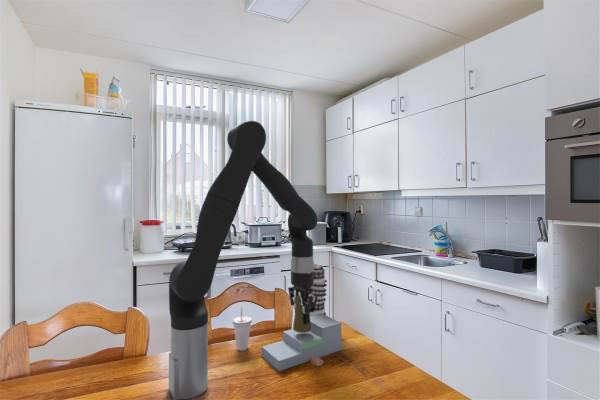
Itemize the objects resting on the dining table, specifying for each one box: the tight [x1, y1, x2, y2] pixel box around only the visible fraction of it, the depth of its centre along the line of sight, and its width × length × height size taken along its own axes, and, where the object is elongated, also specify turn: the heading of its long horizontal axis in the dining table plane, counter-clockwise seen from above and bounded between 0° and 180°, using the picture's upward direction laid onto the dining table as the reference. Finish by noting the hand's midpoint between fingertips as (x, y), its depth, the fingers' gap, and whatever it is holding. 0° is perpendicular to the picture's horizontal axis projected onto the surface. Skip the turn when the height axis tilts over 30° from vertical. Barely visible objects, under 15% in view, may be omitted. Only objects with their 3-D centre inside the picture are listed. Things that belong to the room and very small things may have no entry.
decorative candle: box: [310, 263, 328, 316], centre depth 121 cm, size 9×9×25 cm
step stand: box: [261, 313, 342, 372], centre depth 103 cm, size 24×11×9 cm, turn 124°
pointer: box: [310, 357, 324, 367], centre depth 97 cm, size 2×4×1 cm, turn 34°
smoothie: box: [232, 306, 253, 352], centre depth 106 cm, size 6×6×14 cm
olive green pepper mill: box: [292, 295, 311, 333], centre depth 103 cm, size 6×6×11 cm
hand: (302, 321), depth 103 cm, fingers closed on olive green pepper mill, 4 cm apart
